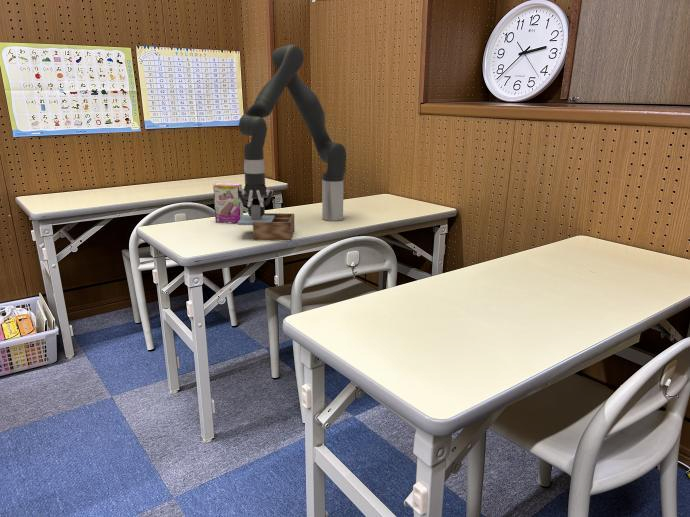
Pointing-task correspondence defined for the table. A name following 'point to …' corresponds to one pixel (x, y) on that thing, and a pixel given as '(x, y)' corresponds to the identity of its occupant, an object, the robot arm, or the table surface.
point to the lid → (255, 217)
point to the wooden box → (275, 228)
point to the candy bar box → (227, 202)
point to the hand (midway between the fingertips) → (256, 215)
